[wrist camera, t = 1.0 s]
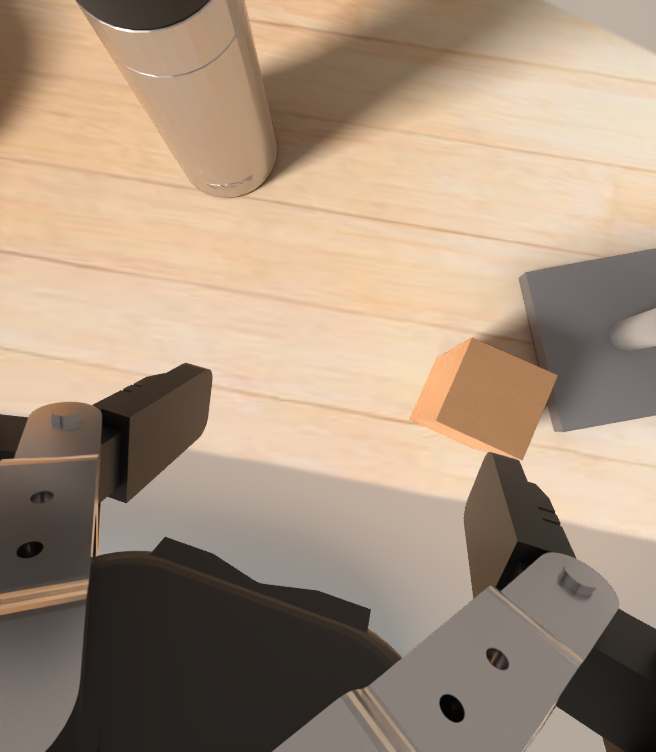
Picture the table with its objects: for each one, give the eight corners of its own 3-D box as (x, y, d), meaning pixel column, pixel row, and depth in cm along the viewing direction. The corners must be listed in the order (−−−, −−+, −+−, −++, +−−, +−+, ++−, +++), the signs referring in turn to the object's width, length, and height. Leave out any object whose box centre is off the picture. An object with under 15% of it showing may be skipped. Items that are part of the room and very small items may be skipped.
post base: (518, 278, 38) (562, 244, 31) (671, 249, 38) (752, 209, 31) (554, 431, 37) (609, 435, 29) (712, 402, 37) (808, 399, 29)
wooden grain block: (409, 419, 37) (435, 420, 27) (436, 358, 38) (471, 337, 28) (472, 448, 37) (522, 460, 27) (499, 386, 37) (557, 375, 27)
